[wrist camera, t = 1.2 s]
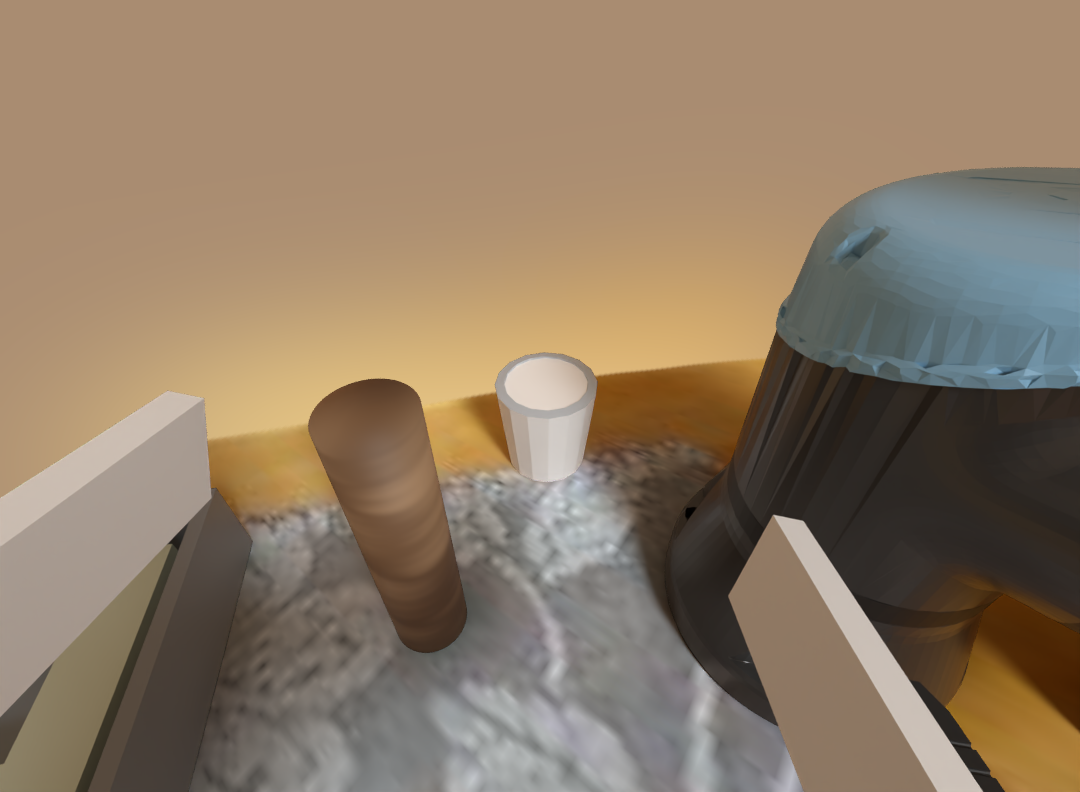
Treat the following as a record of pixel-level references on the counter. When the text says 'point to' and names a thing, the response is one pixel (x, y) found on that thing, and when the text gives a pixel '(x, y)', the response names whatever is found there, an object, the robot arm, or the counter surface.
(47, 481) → the robot arm
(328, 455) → the peg
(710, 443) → the counter surface
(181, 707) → the open box
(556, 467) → the white cup
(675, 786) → the counter surface
